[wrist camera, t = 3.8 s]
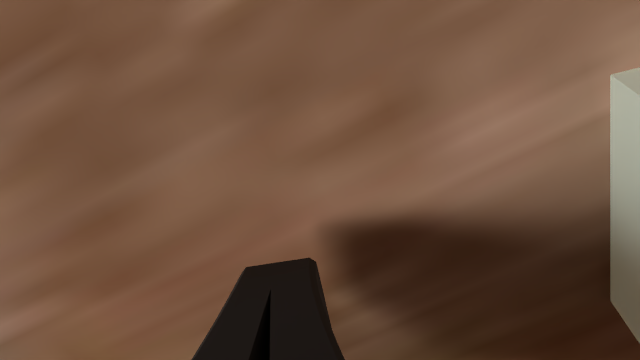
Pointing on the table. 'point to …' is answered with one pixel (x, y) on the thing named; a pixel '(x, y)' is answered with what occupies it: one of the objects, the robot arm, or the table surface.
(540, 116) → the table surface
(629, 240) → the block
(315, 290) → the robot arm
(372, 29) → the table surface
